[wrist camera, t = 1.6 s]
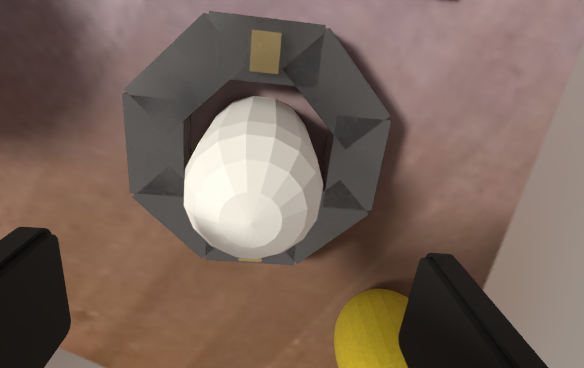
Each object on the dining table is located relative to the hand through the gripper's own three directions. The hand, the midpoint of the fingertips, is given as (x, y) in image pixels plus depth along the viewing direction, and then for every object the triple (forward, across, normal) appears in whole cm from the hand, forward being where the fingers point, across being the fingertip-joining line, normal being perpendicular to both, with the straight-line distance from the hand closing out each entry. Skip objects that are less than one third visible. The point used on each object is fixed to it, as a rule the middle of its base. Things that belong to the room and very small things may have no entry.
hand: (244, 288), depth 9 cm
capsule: (+10, 0, -1) cm, 10 cm away
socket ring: (+10, 0, -1) cm, 10 cm away
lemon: (+11, -8, +9) cm, 16 cm away
